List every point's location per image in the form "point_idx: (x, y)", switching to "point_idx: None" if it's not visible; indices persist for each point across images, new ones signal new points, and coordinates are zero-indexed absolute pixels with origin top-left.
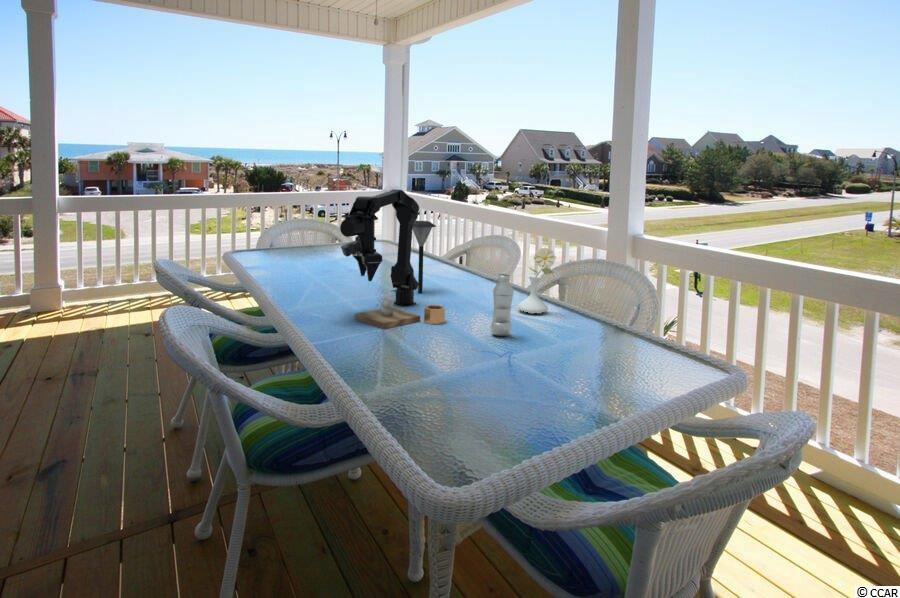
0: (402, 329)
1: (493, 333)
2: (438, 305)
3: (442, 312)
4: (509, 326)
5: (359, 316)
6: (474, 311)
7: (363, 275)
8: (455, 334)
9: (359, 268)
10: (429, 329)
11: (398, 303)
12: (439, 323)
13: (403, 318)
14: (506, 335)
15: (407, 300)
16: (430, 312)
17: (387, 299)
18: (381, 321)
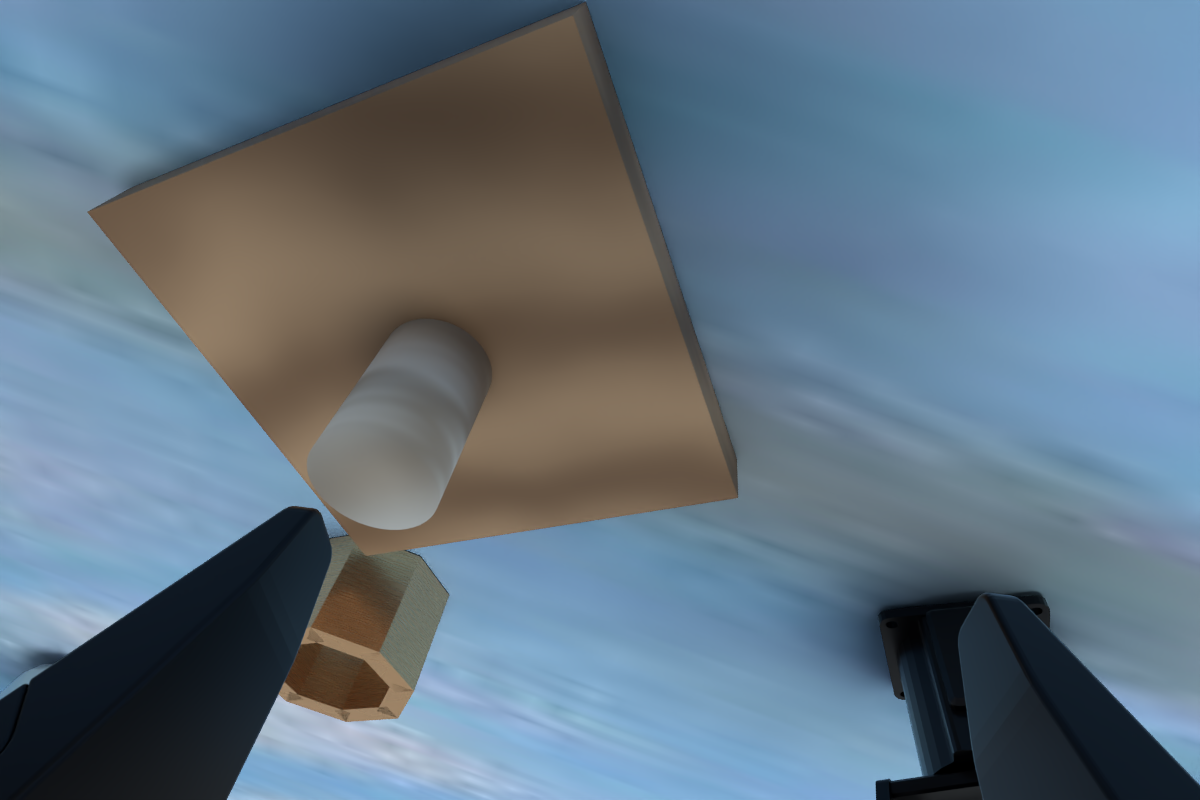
0: (146, 332)
1: (42, 668)
2: (390, 713)
3: None
4: None
5: (476, 51)
6: (561, 790)
7: (962, 632)
8: (65, 550)
9: (1168, 795)
10: (165, 486)
11: (949, 608)
12: None
13: (286, 431)
14: None
15: (904, 675)
16: None
17: (362, 478)
18: (163, 214)
